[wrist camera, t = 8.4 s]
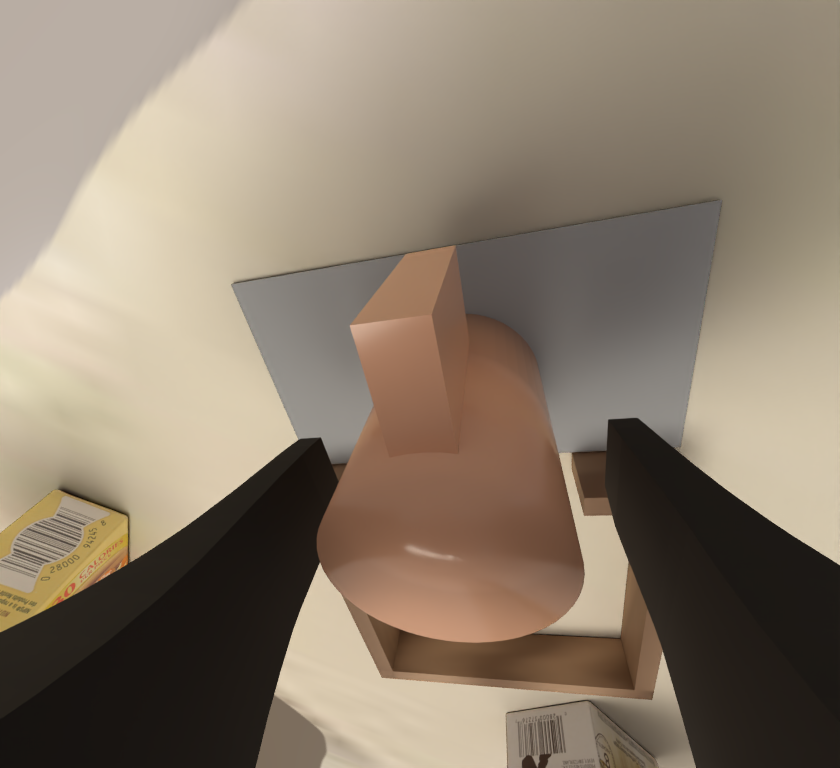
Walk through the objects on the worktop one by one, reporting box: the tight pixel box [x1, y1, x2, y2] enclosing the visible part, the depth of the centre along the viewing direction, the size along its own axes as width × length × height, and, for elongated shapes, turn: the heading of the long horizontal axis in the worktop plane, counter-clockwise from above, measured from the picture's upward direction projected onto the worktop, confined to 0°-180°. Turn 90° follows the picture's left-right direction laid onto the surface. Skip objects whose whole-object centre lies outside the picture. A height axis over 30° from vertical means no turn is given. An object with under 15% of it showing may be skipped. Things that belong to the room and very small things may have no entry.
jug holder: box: [332, 451, 662, 700], centre depth 17 cm, size 13×13×2 cm
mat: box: [231, 200, 722, 464], centre depth 13 cm, size 14×8×1 cm, turn 101°
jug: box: [317, 245, 585, 643], centre depth 10 cm, size 7×5×7 cm
